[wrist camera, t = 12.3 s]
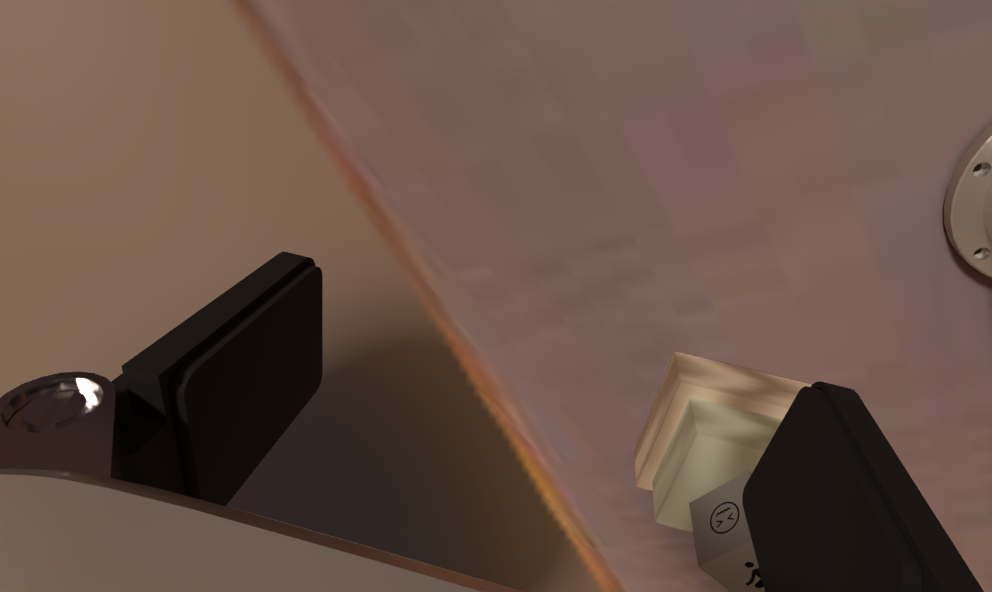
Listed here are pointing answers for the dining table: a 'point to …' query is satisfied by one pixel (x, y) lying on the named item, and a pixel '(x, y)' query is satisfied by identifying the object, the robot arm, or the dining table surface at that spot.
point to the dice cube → (726, 537)
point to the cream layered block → (706, 431)
